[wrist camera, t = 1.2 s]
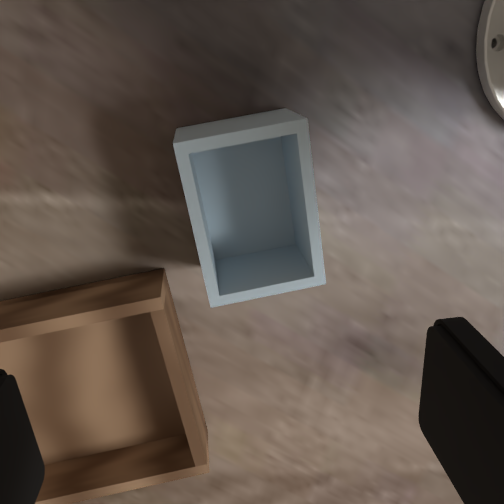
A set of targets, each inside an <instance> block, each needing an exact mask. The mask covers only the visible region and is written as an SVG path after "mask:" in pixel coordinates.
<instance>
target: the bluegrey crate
mask: <svg viewBox="0 0 504 504" xmlns="http://www.w3.org/2000/svg"><path fill="white" fill-rule="evenodd" d="M173 147H174V151H175V155H176V160H177V164H178V168H179V173H180V177H181V181H182V186H183V190H184V194H185V199H186V203H187V207H188V212H189V216H190V220H191V225H192V229H193V233H194V238H195V242H196V246H197V251H198V255H199V259H200V264H201V268H202V272H203V277H204V281H205V285H206V290H207V294H208V298H209V303H210V307H211V308H212V307H217V306H222V305H226V304H231V303H236V302H241V301H246V300H251V299H256V298H260V297H265V296H270V295H275V294H280V293H285V292H290V291H294V290H299V289H304V288H309V287H314V286H319V285H324V284H326V279H325V270H324V261H323V252H322V243H321V234H320V225H319V216H318V207H317V198H316V189H315V180H314V171H313V162H312V153H311V144H310V135H309V126H308V118H306V117H304V116H302V115H300V114H298V113H295V112H293V111H291V110H289V109H287V108H283V109H277V110H272V111H267V112H261V113H256V114H250V115H245V116H240V117H234V118H229V119H224V120H218V121H213V122H207V123H202V124H197V125H191V126H186V127H180V128H176V132H175V136H174V140H173Z"/></svg>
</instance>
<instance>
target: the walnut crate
mask: <svg viewBox="0 0 504 504" xmlns="http://www.w3.org/2000/svg"><path fill="white" fill-rule="evenodd" d="M0 369H3V370H5V371H6V373H7V375H10V374H11V375H13V376H14V377H15V379H16V381H17V384H18V387H19V390H20V393H21V396H22V399H23V402H24V405H25V408H26V411H27V414H28V417H29V420H30V423H31V426H32V429H33V432H34V435H35V438H36V441H37V444H38V447H39V450H40V453H41V456H42V459H43V462H44V466H45V475H44V480H43V484H42V486H41V489H40V492H39V494H38V497H37V499H36V502H35V504H71V503H75V502H80V501H84V500H89V499H93V498H97V497H102V496H106V495H111V494H115V493H120V492H124V491H129V490H133V489H138V488H142V487H147V486H151V485H156V484H160V483H165V482H169V481H173V480H178V479H182V478H187V477H191V476H196V475H200V474H205V473H209V454H208V431H207V426H206V423H205V419H204V415H203V411H202V408H201V404H200V400H199V396H198V393H197V389H196V385H195V381H194V378H193V374H192V370H191V366H190V363H189V359H188V355H187V351H186V348H185V344H184V340H183V336H182V333H181V329H180V325H179V321H178V318H177V314H176V310H175V306H174V303H173V299H172V295H171V292H170V288H169V284H168V280H167V277H166V273H165V269H164V268H163V269H158V270H153V271H148V272H143V273H138V274H133V275H128V276H123V277H118V278H113V279H108V280H103V281H98V282H93V283H88V284H83V285H78V286H73V287H68V288H63V289H58V290H53V291H48V292H43V293H38V294H33V295H28V296H23V297H18V298H13V299H9V300H4V301H0Z"/></svg>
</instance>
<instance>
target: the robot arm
mask: <svg viewBox="0 0 504 504" xmlns="http://www.w3.org/2000/svg"><path fill="white" fill-rule="evenodd" d="M492 42H493V43H492ZM491 43H492V46H491ZM476 57H477V67H478V74H479V77H480V81H481V84H482V87H483V91H484V93H485V95H486V97H487V98H488V100H489V102H490V104H491V106H492V107H493V109H494V110H495V111H496V112H497V113H498V114H499V115H500V116H501V118H502V119H503V120H504V0H485V2H484V4H483V8H482V12H481V16H480V21H479V25H478V30H477V44H476ZM419 424H420V427H421V430H422V432H423V434H424V436H425V438H426V439H427V441H428V443H429V444H430V446H431V448H432V450H433V451H434V453H435V455H436V456H437V458H438V460H439V461H440V463H441V465H442V467H443V468H444V470H445V472H446V473H447V475H448V477H449V478H450V480H451V482H452V484H453V485H454V487H455V489H456V490H457V492H458V494H459V496H460V497H461V499H462V501H463V502H464V504H504V357H503V356H502V355H501V354H500V353H499V352H498V351H497V350H496V349H495V348H494V347H493V346H492V345H491V344H490V343H489V342H488V341H487V340H486V339H485V338H484V337H483V336H482V335H481V334H480V333H479V332H478V331H477V330H476V329H475V328H474V327H473V326H472V325H471V324H470V323H469V322H468V321H467V320H466V319H465V318H463V317H455V318H446V319H438V320H436V321H435V323H434V326H431V327H429V328H428V330H427V338H426V348H425V357H424V367H423V377H422V387H421V397H420V407H419ZM44 475H45V466H44V462H43V459H42V456H41V453H40V450H39V447H38V444H37V441H36V438H35V435H34V432H33V429H32V426H31V423H30V420H29V417H28V414H27V411H26V408H25V405H24V402H23V399H22V396H21V393H20V390H19V387H18V384H17V381H16V379H15V377H14V376H13V375H11V374H10V375H7V373H6V371H5V370H3V369H0V504H35V502H36V499H37V497H38V494H39V492H40V489H41V486H42V484H43V480H44Z"/></svg>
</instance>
